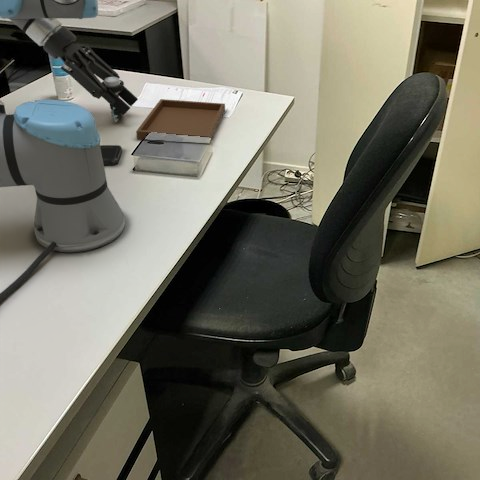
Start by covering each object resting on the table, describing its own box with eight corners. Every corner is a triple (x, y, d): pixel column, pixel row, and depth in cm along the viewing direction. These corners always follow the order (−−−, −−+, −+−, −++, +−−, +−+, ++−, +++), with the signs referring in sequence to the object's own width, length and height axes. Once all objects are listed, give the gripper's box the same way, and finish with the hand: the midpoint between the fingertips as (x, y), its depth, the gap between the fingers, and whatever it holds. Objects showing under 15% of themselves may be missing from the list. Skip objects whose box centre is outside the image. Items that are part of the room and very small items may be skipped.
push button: (126, 123, 140) (120, 86, 134) (104, 123, 139) (97, 85, 133) (130, 112, 145) (124, 75, 139) (109, 111, 144) (102, 75, 138)
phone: (116, 160, 122) (44, 160, 120) (117, 165, 122) (45, 165, 120) (122, 145, 128) (54, 144, 126) (123, 149, 129) (55, 149, 127)
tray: (209, 144, 134) (209, 136, 133) (137, 139, 134) (136, 131, 133) (225, 111, 152) (224, 103, 150) (161, 106, 152) (160, 99, 150)
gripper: (43, 35, 122) (128, 111, 132) (77, 16, 137) (150, 85, 147) (25, 58, 125) (109, 130, 135) (60, 36, 140) (133, 103, 150)
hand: (130, 107), depth 141 cm, fingers closed on push button, 5 cm apart
